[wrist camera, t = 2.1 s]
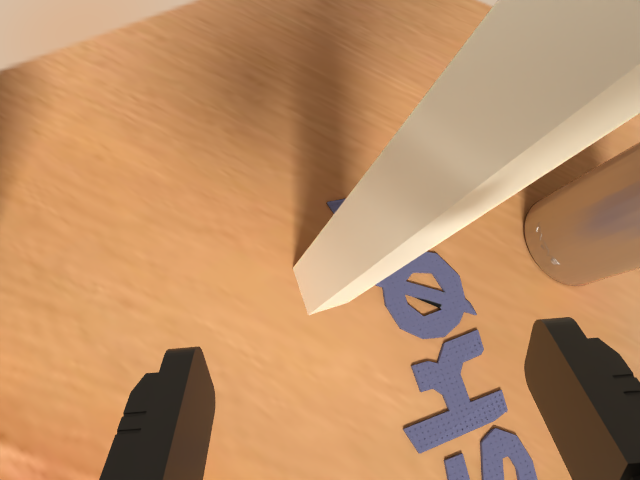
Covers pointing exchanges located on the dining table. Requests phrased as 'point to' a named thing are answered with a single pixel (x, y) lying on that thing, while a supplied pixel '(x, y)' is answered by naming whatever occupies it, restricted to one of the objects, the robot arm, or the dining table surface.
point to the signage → (450, 370)
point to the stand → (481, 136)
